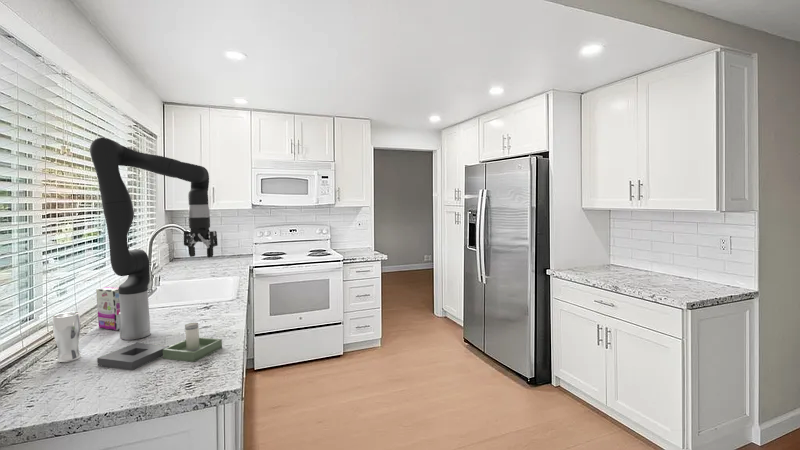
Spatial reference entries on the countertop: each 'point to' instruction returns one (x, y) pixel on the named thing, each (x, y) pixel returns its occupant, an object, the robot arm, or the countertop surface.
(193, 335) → the fuse
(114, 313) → the candy bar box
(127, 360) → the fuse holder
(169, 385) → the countertop surface
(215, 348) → the tray
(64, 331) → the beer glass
